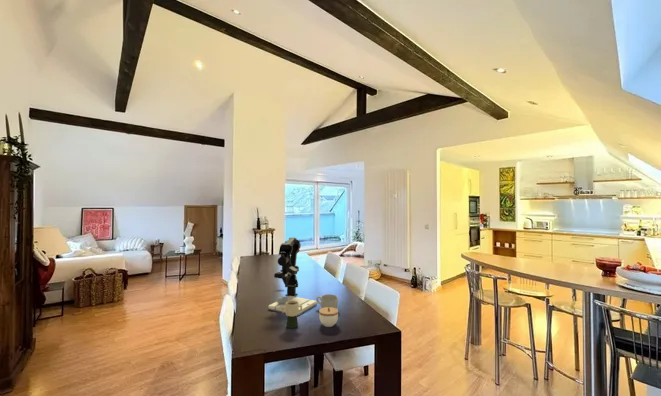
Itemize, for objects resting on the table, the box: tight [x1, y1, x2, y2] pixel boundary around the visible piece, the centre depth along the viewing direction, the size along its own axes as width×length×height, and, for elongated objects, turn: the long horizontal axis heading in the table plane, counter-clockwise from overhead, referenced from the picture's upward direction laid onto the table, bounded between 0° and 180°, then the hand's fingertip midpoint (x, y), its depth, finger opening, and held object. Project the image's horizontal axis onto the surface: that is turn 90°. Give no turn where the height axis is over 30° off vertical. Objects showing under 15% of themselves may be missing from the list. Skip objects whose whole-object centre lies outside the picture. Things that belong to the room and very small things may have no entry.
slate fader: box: [277, 296, 288, 304], centre depth 189 cm, size 4×5×5 cm
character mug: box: [281, 301, 302, 329], centre depth 159 cm, size 11×7×13 cm, turn 106°
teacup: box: [315, 293, 339, 309], centre depth 186 cm, size 14×11×8 cm
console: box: [268, 296, 318, 317], centre depth 189 cm, size 22×22×3 cm
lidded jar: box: [318, 307, 339, 328], centre depth 162 cm, size 11×11×9 cm
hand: (286, 285), depth 198 cm, fingers closed
